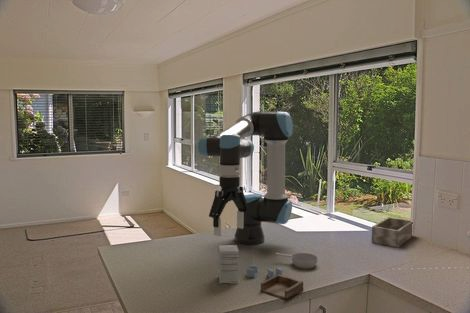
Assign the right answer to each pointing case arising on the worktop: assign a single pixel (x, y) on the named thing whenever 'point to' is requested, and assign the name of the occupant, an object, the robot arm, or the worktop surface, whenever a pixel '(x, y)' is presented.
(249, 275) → the clip
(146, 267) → the worktop surface
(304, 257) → the saucepan
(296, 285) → the wooden tray
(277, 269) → the clip
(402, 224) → the box
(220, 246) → the supplement box
